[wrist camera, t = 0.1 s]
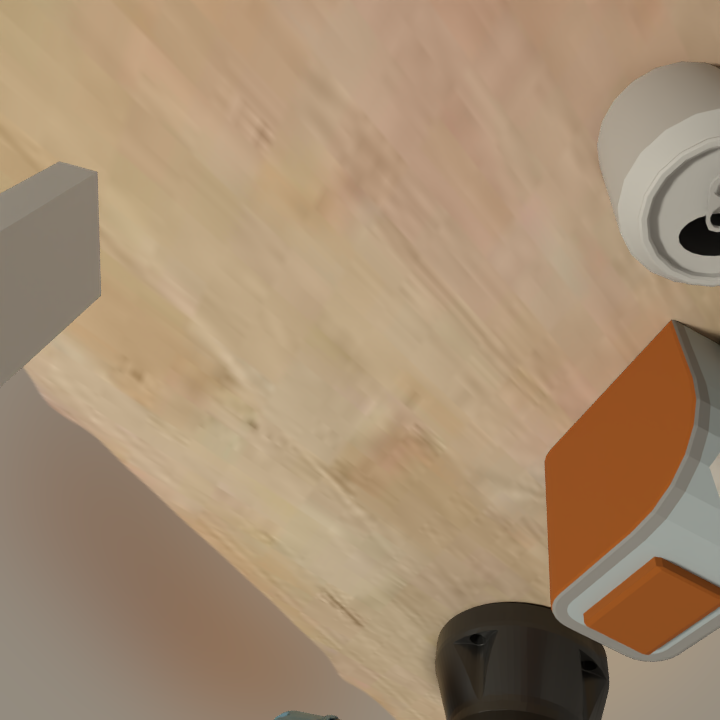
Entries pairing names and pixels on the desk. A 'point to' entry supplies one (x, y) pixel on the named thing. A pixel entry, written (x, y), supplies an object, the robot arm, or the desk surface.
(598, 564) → the alarm clock
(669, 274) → the can
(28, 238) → the robot arm
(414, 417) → the desk surface
